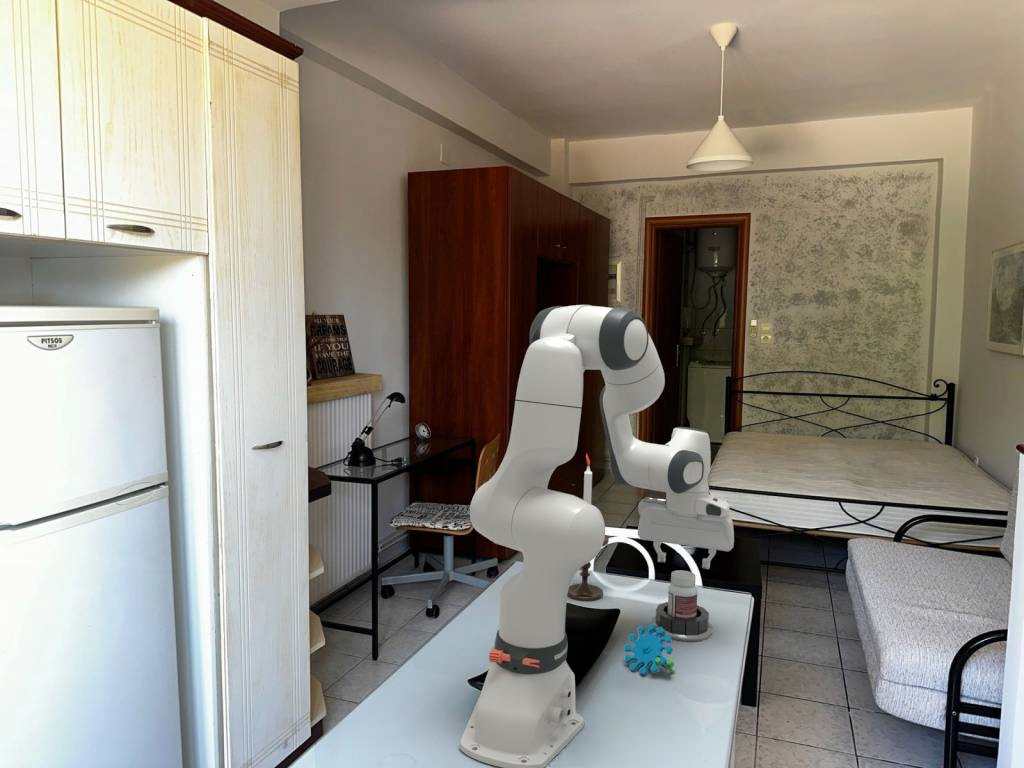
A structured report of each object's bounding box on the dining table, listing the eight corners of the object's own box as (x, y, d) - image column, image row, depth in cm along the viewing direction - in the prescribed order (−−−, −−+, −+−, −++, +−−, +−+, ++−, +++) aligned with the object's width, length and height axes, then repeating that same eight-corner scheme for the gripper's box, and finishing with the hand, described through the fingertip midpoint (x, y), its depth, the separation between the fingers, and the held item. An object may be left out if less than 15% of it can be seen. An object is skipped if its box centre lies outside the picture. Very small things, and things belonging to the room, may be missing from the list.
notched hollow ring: (709, 646, 149) (710, 627, 149) (646, 635, 154) (647, 617, 153) (715, 622, 161) (715, 605, 161) (656, 613, 166) (657, 596, 165)
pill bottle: (701, 626, 157) (704, 575, 156) (683, 632, 153) (685, 581, 152) (679, 616, 162) (682, 567, 161) (661, 622, 158) (663, 572, 157)
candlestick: (553, 591, 178) (557, 451, 175) (585, 583, 184) (590, 448, 181) (582, 606, 169) (587, 459, 166) (615, 596, 175) (621, 455, 172)
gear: (612, 653, 141) (643, 613, 144) (625, 667, 144) (656, 628, 147) (651, 685, 132) (684, 641, 135) (664, 699, 135) (696, 656, 138)
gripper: (636, 499, 156) (632, 561, 157) (734, 510, 148) (730, 576, 149) (641, 493, 162) (638, 553, 163) (736, 504, 154) (732, 567, 155)
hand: (683, 564), depth 156 cm, fingers open, 8 cm apart
